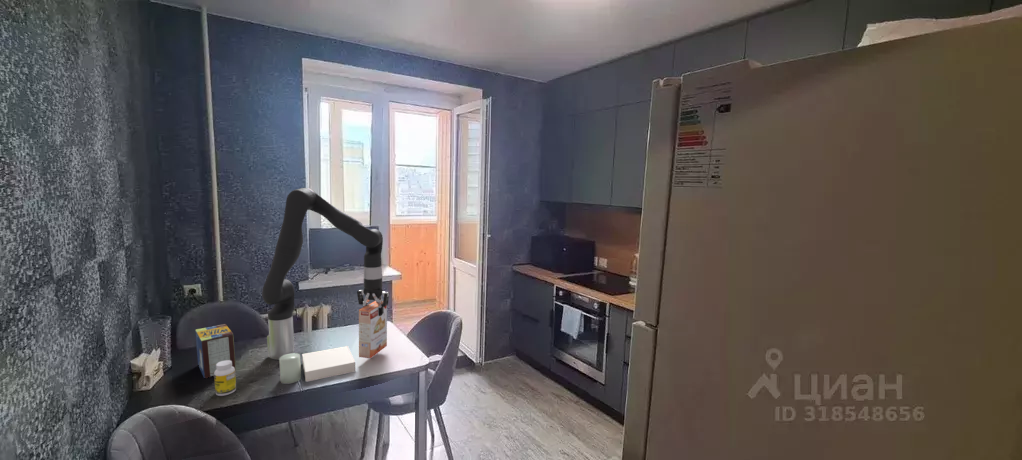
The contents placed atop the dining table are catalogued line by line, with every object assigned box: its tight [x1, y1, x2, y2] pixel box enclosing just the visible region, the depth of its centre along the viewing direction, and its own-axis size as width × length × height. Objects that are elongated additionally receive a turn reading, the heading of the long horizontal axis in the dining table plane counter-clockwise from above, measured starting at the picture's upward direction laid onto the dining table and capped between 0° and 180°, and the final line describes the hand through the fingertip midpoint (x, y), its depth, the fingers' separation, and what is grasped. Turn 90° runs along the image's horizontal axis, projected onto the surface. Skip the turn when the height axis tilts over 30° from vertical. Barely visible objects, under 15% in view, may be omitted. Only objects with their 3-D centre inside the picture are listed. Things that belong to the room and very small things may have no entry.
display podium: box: [301, 345, 356, 382], centre depth 167 cm, size 18×18×4 cm
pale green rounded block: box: [278, 352, 302, 385], centre depth 157 cm, size 7×7×9 cm
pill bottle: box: [213, 360, 237, 397], centre depth 146 cm, size 6×6×11 cm
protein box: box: [194, 323, 237, 379], centre depth 164 cm, size 10×15×16 cm
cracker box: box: [358, 300, 388, 359], centre depth 175 cm, size 14×6×21 cm, turn 169°
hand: (373, 314), depth 175 cm, fingers closed on cracker box, 6 cm apart
